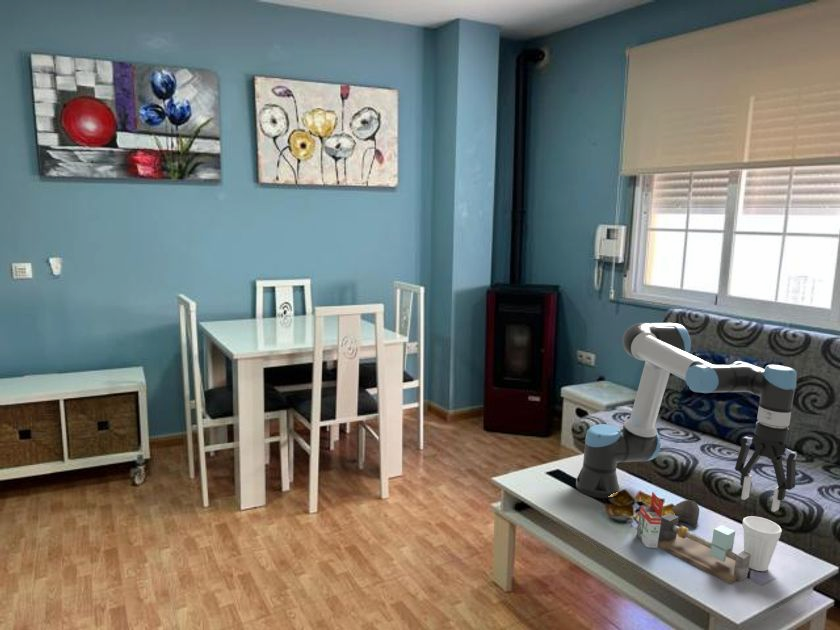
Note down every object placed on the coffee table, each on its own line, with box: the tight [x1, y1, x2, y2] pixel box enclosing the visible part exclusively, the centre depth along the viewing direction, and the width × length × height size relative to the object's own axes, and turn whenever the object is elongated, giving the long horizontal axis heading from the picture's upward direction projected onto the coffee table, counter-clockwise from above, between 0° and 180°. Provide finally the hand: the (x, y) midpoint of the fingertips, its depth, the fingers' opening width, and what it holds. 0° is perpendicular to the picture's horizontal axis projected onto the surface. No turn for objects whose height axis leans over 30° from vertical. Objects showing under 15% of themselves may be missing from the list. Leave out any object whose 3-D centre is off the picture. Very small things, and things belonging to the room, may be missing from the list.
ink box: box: [636, 491, 664, 549], centre depth 187 cm, size 4×8×15 cm, turn 2°
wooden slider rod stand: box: [657, 512, 751, 584], centre depth 180 cm, size 25×11×8 cm, turn 37°
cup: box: [742, 515, 783, 572], centre depth 177 cm, size 10×10×13 cm
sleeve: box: [710, 524, 736, 562], centre depth 175 cm, size 4×4×8 cm
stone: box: [672, 499, 700, 528], centre depth 203 cm, size 10×8×10 cm
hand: (759, 503), depth 166 cm, fingers open, 7 cm apart
